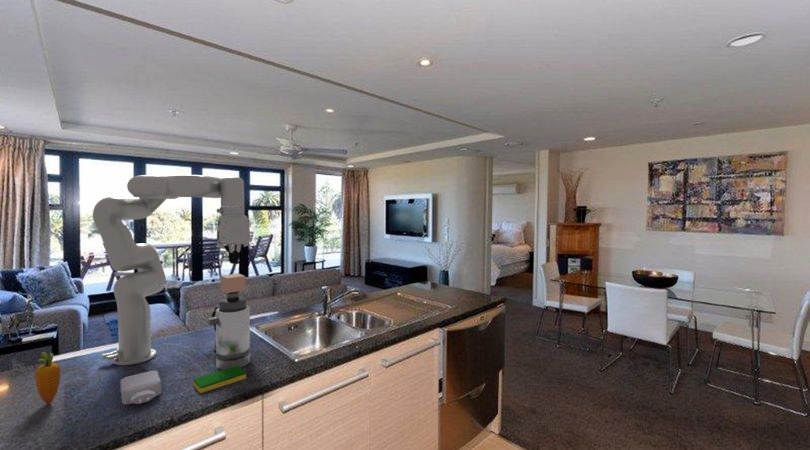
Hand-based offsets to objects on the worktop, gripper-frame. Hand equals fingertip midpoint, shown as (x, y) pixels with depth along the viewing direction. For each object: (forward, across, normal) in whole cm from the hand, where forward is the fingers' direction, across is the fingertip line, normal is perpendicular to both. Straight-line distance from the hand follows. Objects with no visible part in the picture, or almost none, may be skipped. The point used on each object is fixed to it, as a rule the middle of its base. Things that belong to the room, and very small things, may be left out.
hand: (233, 263), depth 126 cm
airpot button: (+10, 0, 0) cm, 10 cm away
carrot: (+36, -48, +10) cm, 61 cm away
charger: (+37, -29, -4) cm, 47 cm away
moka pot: (+37, +2, +16) cm, 40 cm away
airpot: (+37, -2, +1) cm, 37 cm away
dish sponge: (+37, -9, -10) cm, 40 cm away
